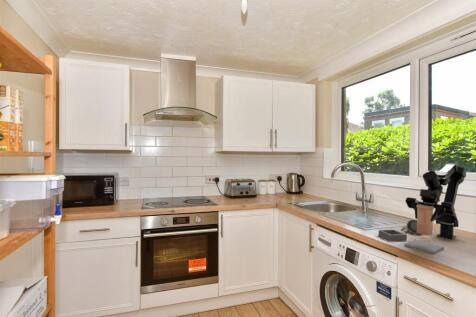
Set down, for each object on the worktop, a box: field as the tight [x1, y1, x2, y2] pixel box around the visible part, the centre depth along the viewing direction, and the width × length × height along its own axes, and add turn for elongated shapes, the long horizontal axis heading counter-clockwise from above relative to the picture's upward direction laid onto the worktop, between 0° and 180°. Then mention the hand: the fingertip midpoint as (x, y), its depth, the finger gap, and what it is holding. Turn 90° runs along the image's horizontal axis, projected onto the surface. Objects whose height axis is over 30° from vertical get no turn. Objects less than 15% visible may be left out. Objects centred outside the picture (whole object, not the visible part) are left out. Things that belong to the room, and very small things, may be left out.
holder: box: [378, 229, 408, 242], centre depth 136 cm, size 9×9×3 cm
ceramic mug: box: [401, 218, 418, 234], centre depth 149 cm, size 11×8×8 cm
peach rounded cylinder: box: [417, 204, 435, 236], centre depth 122 cm, size 8×7×13 cm
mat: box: [403, 239, 445, 255], centre depth 123 cm, size 12×12×1 cm
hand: (423, 219), depth 122 cm, fingers closed on peach rounded cylinder, 6 cm apart
